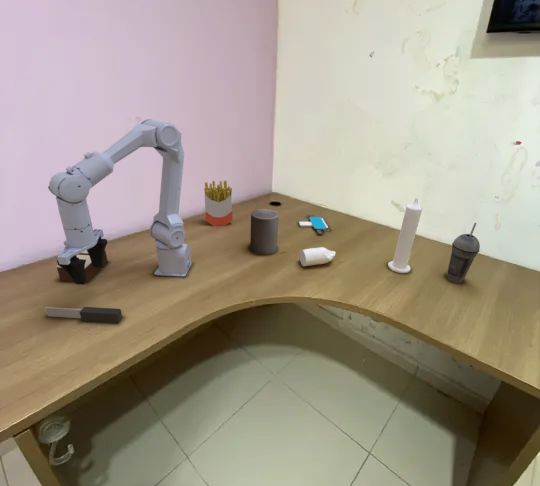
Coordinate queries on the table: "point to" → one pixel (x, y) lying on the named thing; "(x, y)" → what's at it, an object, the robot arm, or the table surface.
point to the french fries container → (218, 203)
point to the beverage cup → (462, 256)
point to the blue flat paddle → (316, 224)
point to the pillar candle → (264, 231)
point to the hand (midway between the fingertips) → (89, 274)
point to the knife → (87, 314)
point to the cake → (88, 270)
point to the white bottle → (315, 256)
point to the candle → (406, 238)
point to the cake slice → (103, 257)
